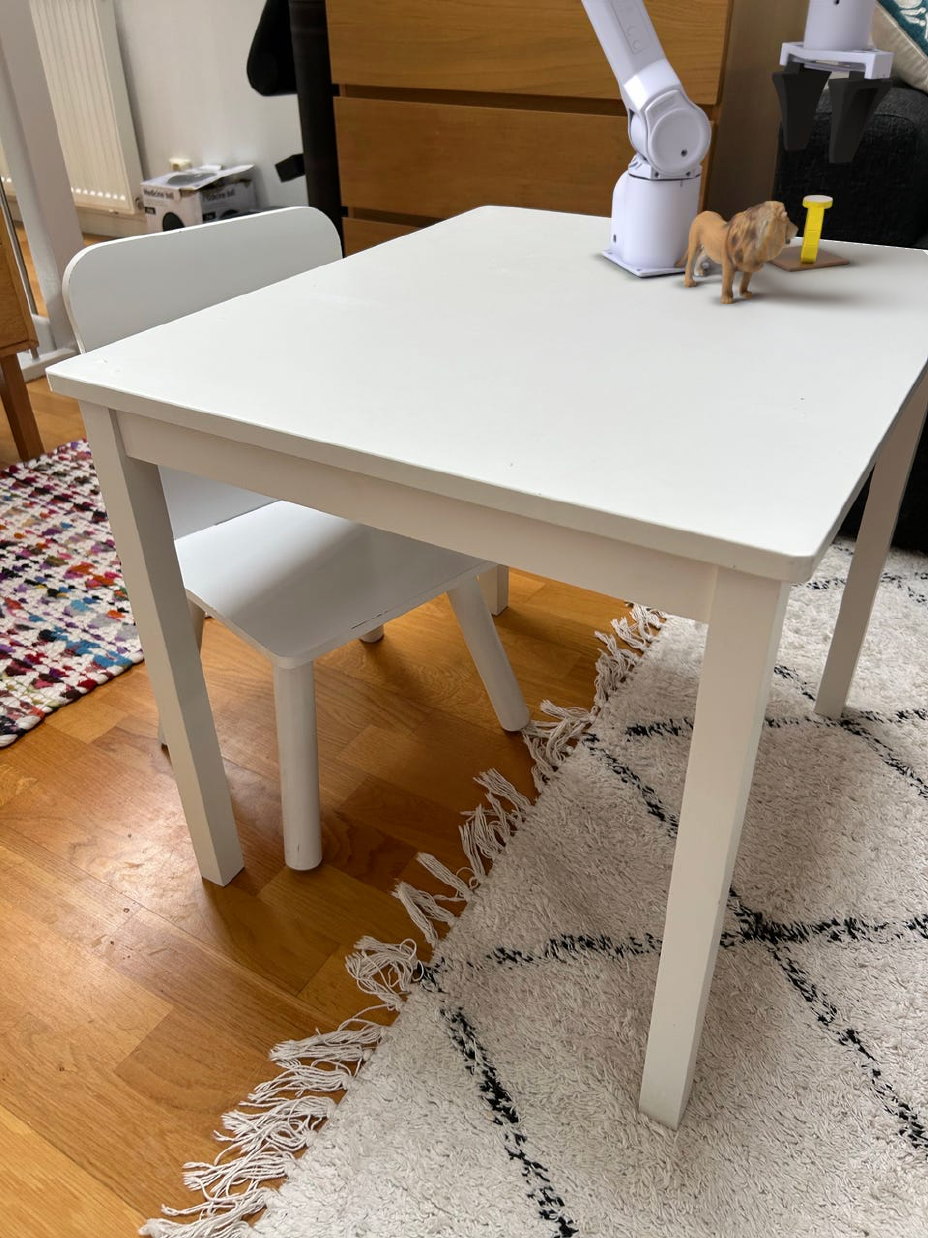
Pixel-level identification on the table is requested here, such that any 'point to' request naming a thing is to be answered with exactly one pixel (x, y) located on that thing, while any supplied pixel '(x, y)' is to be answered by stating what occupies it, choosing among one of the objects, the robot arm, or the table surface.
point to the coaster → (792, 262)
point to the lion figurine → (737, 244)
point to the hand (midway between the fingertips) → (817, 155)
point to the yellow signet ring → (813, 225)
